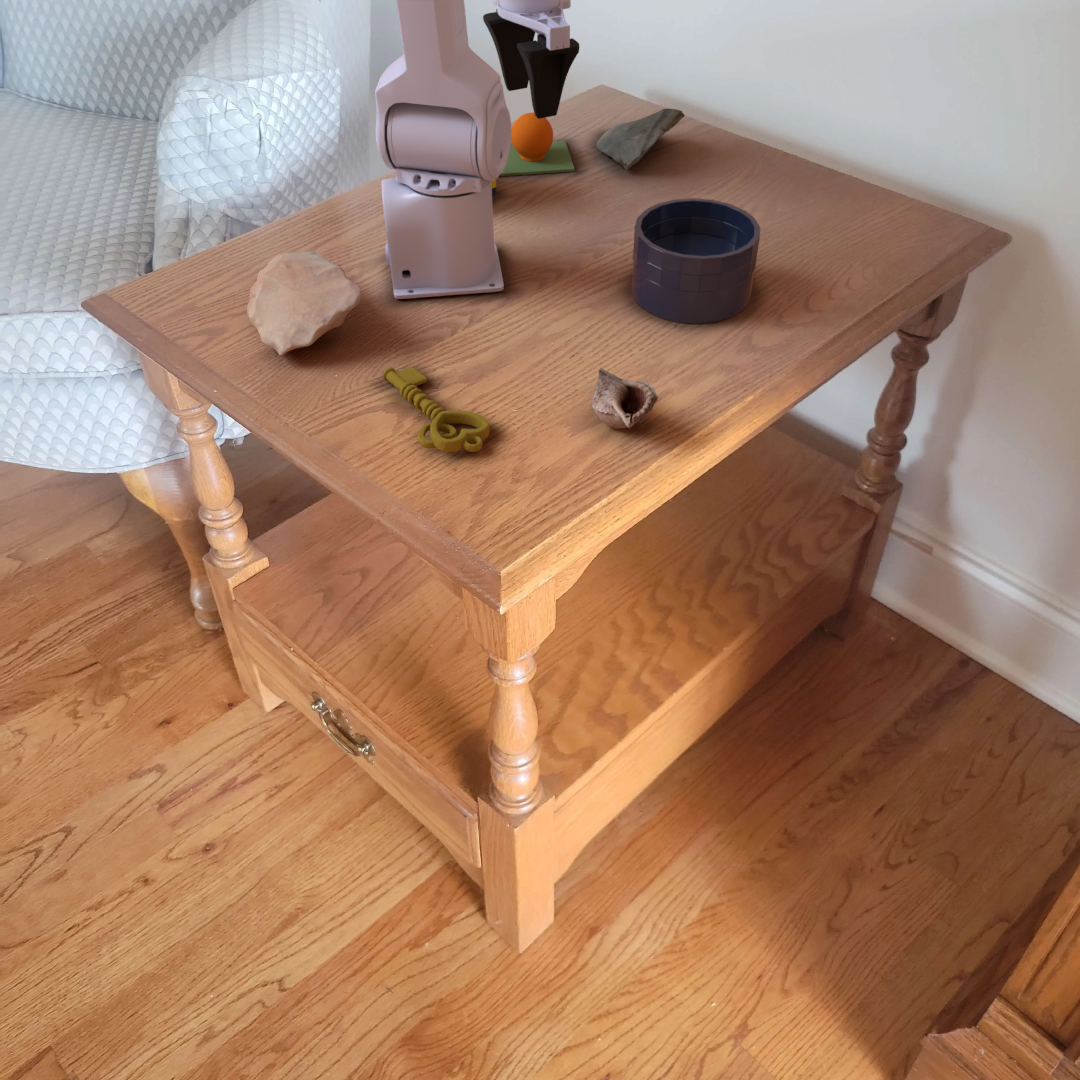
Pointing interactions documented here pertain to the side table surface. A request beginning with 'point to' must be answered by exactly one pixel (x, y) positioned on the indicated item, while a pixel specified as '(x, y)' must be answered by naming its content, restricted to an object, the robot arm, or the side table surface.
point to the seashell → (622, 400)
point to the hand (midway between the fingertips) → (531, 101)
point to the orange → (531, 137)
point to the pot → (694, 260)
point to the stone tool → (300, 300)
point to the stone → (637, 136)
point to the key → (439, 415)
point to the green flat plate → (540, 162)
